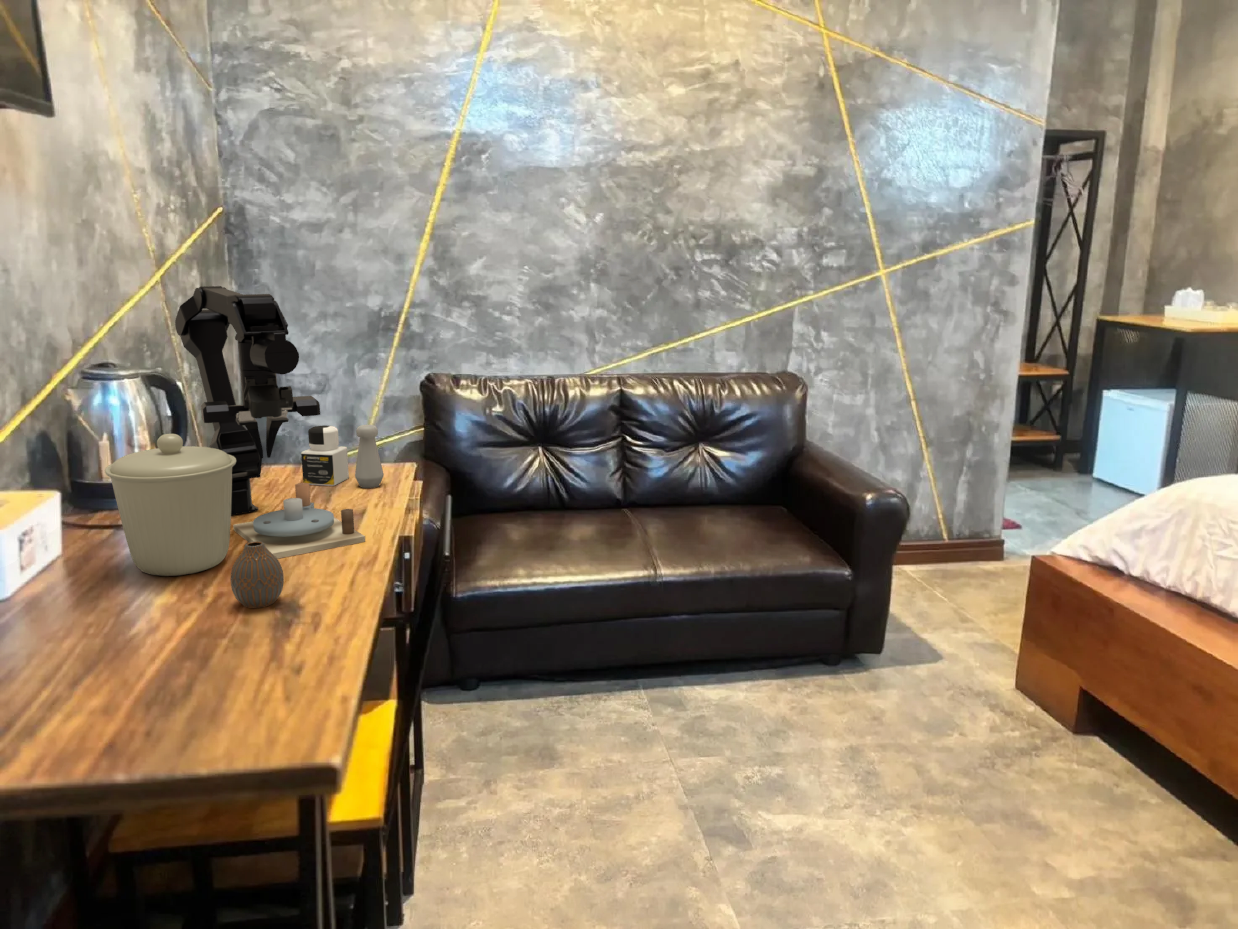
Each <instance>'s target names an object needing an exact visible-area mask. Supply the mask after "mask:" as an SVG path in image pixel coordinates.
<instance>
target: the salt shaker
mask: <svg viewBox="0 0 1238 929" xmlns="http://www.w3.org/2000/svg"><path fill="white" fill-rule="evenodd" d="M378 429H379V428H378V427H377V426H376V425H374V424H361V425H359V426H357V428H356V430H355V432H356V436H357V438H359V439H358V440H359V441H358V448H357V456H356V457H357V458H356V464H355V473H354V478H355V479H356V481H357V483H358V485H359V487H360V488H362V489H374V488H379V487H380V484H381V482H382V480H383V478H384V475H385V473H384V470H383V466H382V462H381V458H380V454H379V450H378V447H377V441H376V437H377V436H378V435H379V430H378Z"/></svg>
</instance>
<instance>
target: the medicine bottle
mask: <svg viewBox="0 0 1238 929" xmlns="http://www.w3.org/2000/svg"><path fill="white" fill-rule="evenodd" d="M307 435H308V446H309V448H308V449H306V450H303V451H301V453H300V455H301V456H300V457H301V458H300V459H301V468H302V469H301V470H302V471H301V472H302V483H309V486H327V487H328V486H329V487H335V486H336V485H339V484H341V483H342V482H344V481H346V480H348V479H349V478H350V475H349V458H348V448H347V446H340V440H339V429H338V428H337V426H333V425H316V426H312V427H311V428H310V427H309V429H308V431H307Z"/></svg>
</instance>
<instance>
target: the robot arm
mask: <svg viewBox="0 0 1238 929" xmlns="http://www.w3.org/2000/svg"><path fill="white" fill-rule="evenodd" d="M174 323H175V324H174V325H175V326H174V327H175V330H176V334H177V335H178V336H180V340H181V343H182V346H183V347H184V349H185V350H187V351H188V352H189V353H190V354H191V355H192V357H194V358H195V360H196V362H197V364H196V365H197V367H198V372H199V375H200V379H201V383H202V386H203V389H204V390H203V392H204V394H205V397H206V401H204V402H203V403H202V404H201V405H200V413H201V418H202V421H203V423H204V424H212V425H213V429H214V433H213V435H212V439H211V441H210V442H209V443H210V444H209V448H215V449H219V450H222V451H224V452H225V453H227V454H229V455H232V456H234V457H235V458H236V464H235V465H234V466H233V467H232V496H231V516H235V515H239V514H240V515H241V514H246V513H247V514H248V513H252V512H258V511H259V507H257V506H256V505H255V504H253V502H252V501H253V500H252V488H251V479H255V478H261V473H262V465H263V464H262V463H263V459H264V449H263V444H262V441H261V440H262V439H261V434H260V431H259V424H258V421H257V419H262V418H266V427H265V428H266V429H265V430H266V431H265V433H266V434H265V435H266V436H265V437H266V438H265V439H266V440H265V442H266V443H265V449H266V451H265V452H266V457H267V458H268V459H269V458H271V457H272V452H273V449H274V446H275V441H276V437H277V436H278V435H277V434H278V432H279V431H280V428H281V426H282V425H283V424H285V423H288V422H289V417H288V416H287V415H288V413H298V414H299V415H300V416H301V417H312V416H314V417H315V416H316V417H317V416H320V415H321V406H320V405H321V404H320V402H319V401H318V400H317V399H316V398H315V397H313V396H312V395H304V396H303V395H301V396H299V395H297V396H293V388H292V386H290V385H289V386H278V379H277V375H287V374H290V373H291V372H293V371H294V370H295V369H296V368H297V367H298V364H299V361H300V353H299V351H298V349H297V347H296V346H295V344H294V343H293V342H291V341H289V340H287V337H286V336H288V335H289V332H290V331H289V329H288V327H289V324H288V322H287V320H286V318H285V316H284V314H283V311H282V310H281V308H280V306H279V303H278V301H276V300H275V297H274V296H273V295H271V294H270V293H255V294H252V293H251V294H246V293H245V294H244V293H243V294H242V293H240V292H236V291H233V290H231V289H227V287H223V286H221V285H208V286H207V285H206V286H205V285H204V286H203V285H202V286H198V287H195V289H194V292H193V294H192V296H191V297H189V298H188V299H187V300H185V301H184V302H182V303H181V304H180V305H179V308H178V311H177V313H176V316H175V321H174ZM230 325H231V327H232V328H233V329H234V332H236V334H235V336H234V340H235V341H237V347H238V348H237V350H238V351H237V352H238V359H239V360H238V361H239V371H240V372H239V373H240V382H241V383H240V385H241V395H242V404H237V403H236V400H235V395H234V392H233V388H232V384H231V380H230V376H229V373H228V368H227V364H226V361H225V358H224V352H223V350H224V348H225V345H226V342H227V340H228V329H229V326H230Z"/></svg>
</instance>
